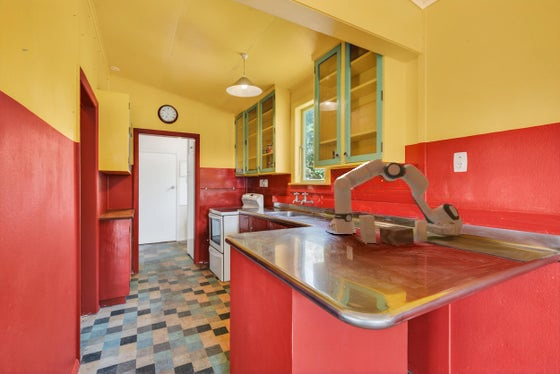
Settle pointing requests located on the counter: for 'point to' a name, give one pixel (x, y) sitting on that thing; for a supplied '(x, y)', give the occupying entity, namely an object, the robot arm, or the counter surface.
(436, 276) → the counter surface
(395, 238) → the walnut base
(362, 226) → the skincare box
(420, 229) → the cream canister
